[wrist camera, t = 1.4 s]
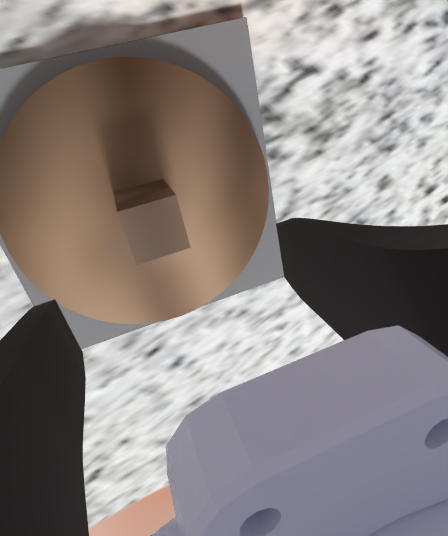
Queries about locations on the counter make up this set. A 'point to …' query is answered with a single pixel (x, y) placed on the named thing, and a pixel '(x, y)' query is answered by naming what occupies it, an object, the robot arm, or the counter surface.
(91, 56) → the mat
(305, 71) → the counter surface
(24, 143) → the lid
